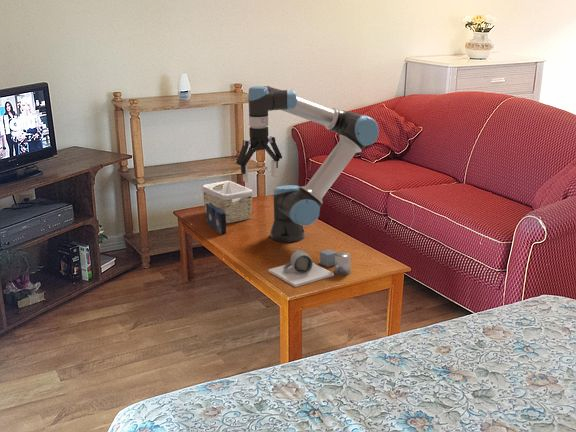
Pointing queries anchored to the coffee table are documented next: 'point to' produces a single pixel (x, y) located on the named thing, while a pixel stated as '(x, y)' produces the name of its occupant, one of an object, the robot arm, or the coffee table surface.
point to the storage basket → (229, 199)
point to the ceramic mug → (299, 263)
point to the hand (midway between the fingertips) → (260, 179)
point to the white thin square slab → (301, 275)
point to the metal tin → (342, 263)
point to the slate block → (327, 257)
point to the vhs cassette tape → (216, 218)
